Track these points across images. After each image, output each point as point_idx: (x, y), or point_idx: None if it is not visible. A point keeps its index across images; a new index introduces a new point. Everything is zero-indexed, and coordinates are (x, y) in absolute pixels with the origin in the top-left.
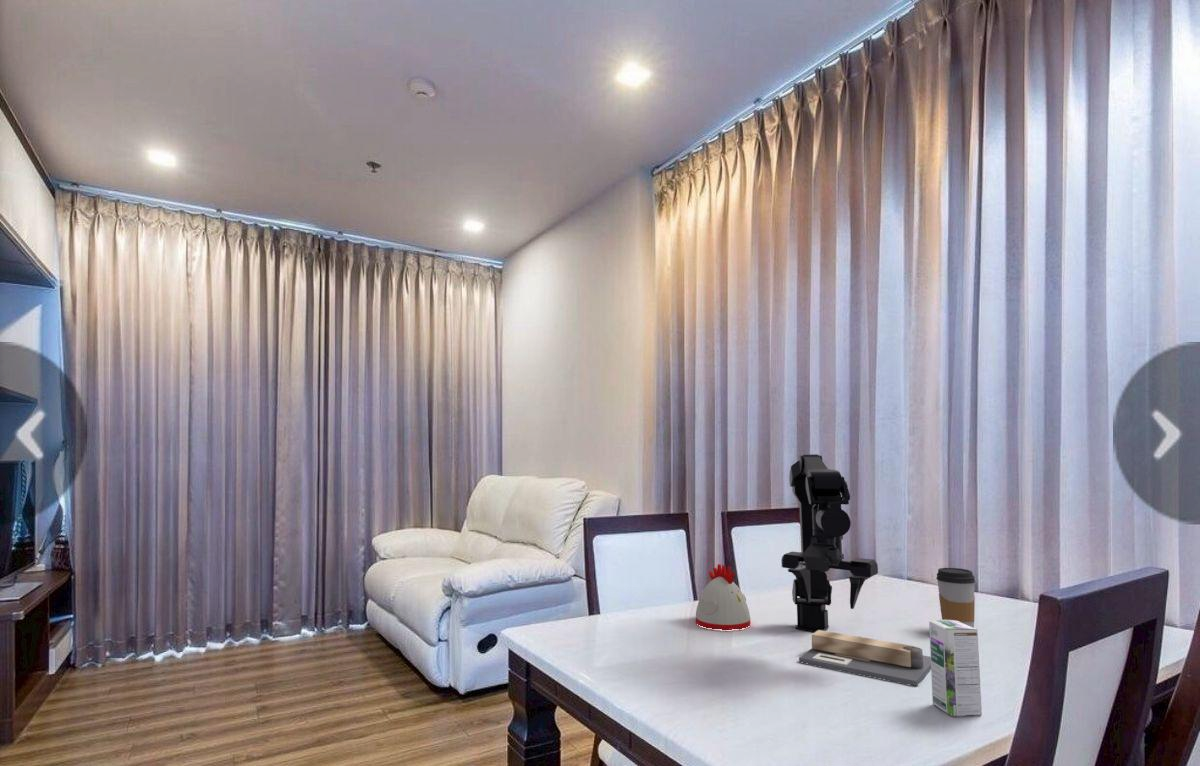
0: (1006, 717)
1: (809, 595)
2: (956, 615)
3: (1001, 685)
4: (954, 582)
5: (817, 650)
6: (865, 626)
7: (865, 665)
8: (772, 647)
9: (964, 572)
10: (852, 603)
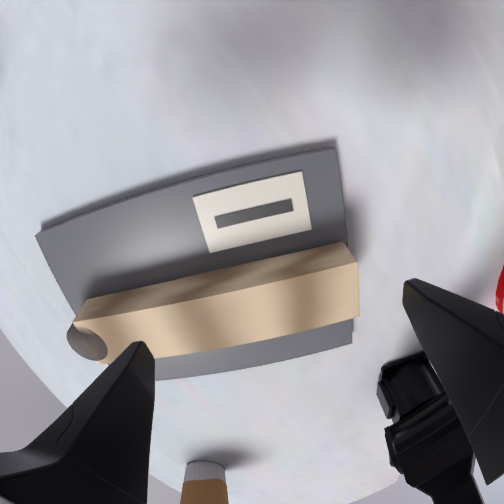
0: None
1: (421, 321)
2: (193, 487)
3: (17, 338)
4: None
5: None
6: (326, 433)
7: (159, 240)
8: (436, 211)
9: None
10: (117, 360)
